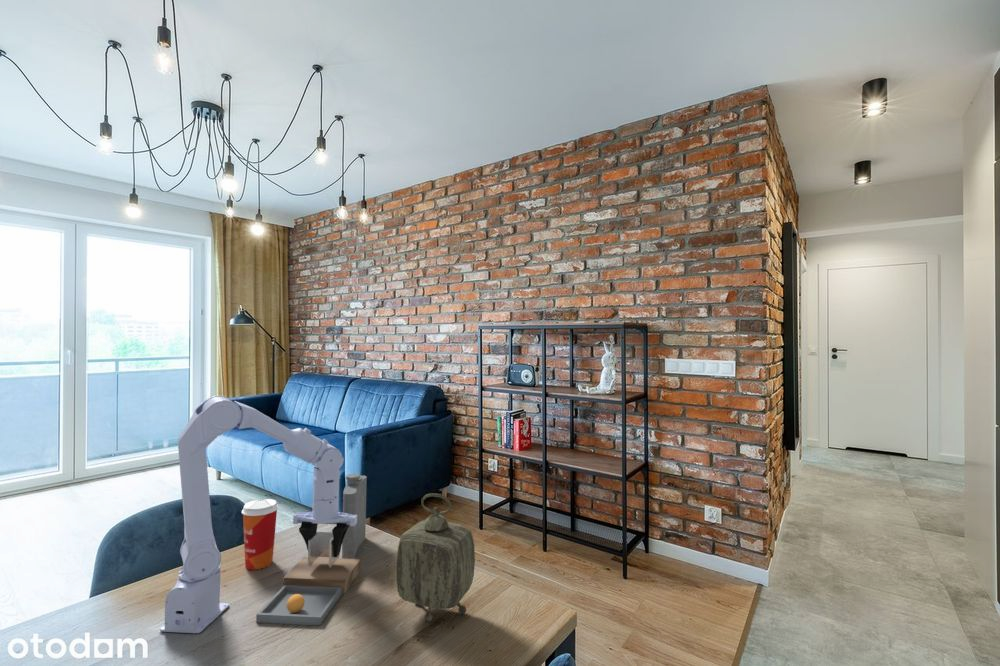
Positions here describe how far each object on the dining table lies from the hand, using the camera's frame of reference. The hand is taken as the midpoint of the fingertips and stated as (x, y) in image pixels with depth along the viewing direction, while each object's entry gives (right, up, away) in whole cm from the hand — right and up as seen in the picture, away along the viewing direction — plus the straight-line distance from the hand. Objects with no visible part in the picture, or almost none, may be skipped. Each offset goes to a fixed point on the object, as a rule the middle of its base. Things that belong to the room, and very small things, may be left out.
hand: (324, 554), depth 111 cm
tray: (-1, -6, -11) cm, 13 cm away
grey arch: (0, -2, 0) cm, 2 cm away
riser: (0, -6, -1) cm, 6 cm away
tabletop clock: (+27, -7, -13) cm, 31 cm away
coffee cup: (-19, -6, +7) cm, 21 cm away
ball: (-1, -4, -14) cm, 14 cm away
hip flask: (+2, -6, +16) cm, 17 cm away
